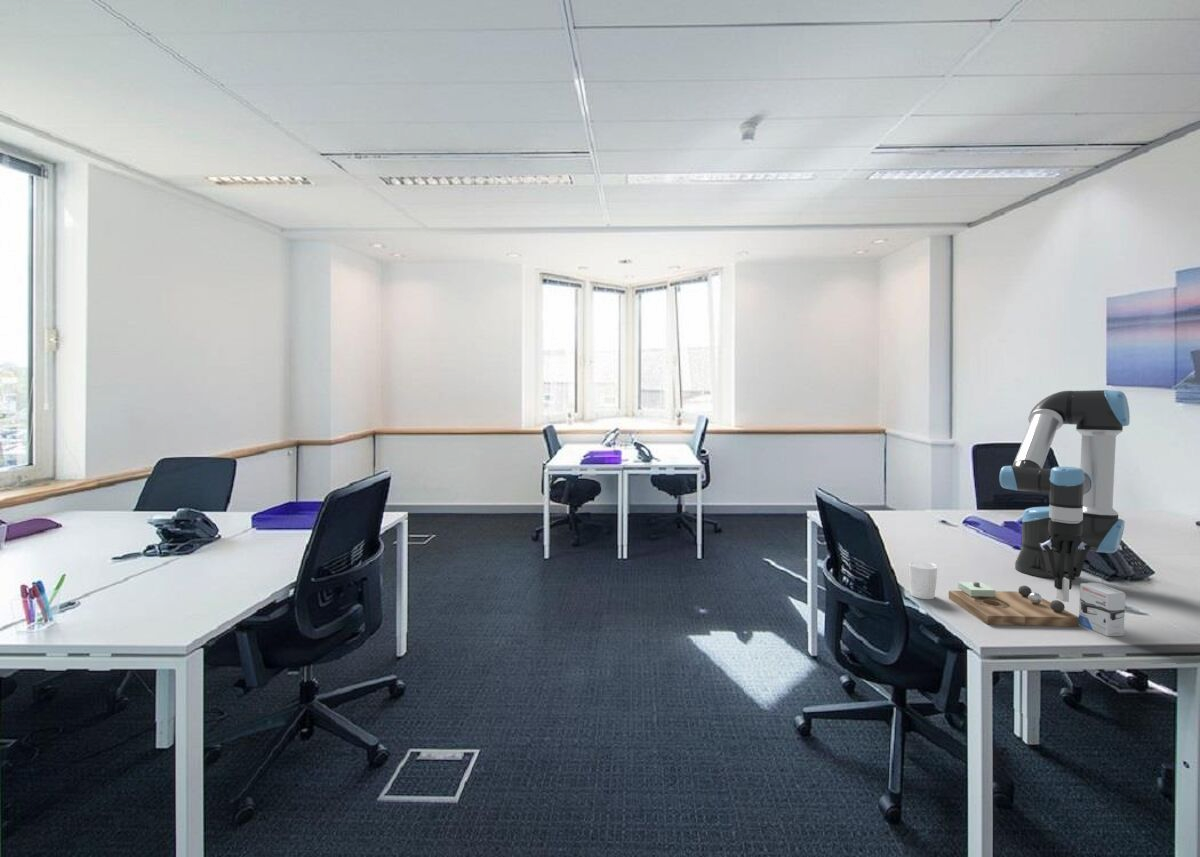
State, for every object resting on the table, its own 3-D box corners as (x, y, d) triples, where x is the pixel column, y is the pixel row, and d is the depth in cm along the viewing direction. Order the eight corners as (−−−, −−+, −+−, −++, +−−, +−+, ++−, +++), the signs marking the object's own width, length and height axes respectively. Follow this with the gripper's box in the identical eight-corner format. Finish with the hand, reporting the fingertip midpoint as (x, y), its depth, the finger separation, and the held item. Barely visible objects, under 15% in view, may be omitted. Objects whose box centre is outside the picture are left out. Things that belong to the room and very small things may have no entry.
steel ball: (1036, 601, 165) (1037, 591, 165) (1044, 605, 162) (1044, 594, 162) (1025, 601, 165) (1025, 590, 165) (1032, 605, 162) (1033, 594, 162)
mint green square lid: (981, 588, 176) (981, 579, 175) (995, 596, 169) (995, 586, 168) (958, 588, 176) (958, 579, 176) (970, 596, 169) (971, 586, 169)
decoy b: (1059, 609, 159) (1059, 598, 159) (1067, 613, 156) (1067, 602, 155) (1047, 609, 159) (1047, 598, 159) (1055, 613, 156) (1055, 602, 156)
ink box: (1077, 623, 155) (1078, 582, 154) (1093, 622, 155) (1095, 581, 155) (1107, 637, 147) (1109, 593, 146) (1124, 636, 147) (1126, 592, 146)
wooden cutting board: (1029, 599, 173) (1029, 591, 173) (1079, 626, 153) (1079, 617, 153) (948, 598, 175) (948, 590, 175) (987, 624, 155) (987, 615, 155)
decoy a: (1026, 594, 171) (1027, 584, 171) (1034, 598, 168) (1034, 587, 167) (1015, 594, 171) (1016, 584, 171) (1022, 598, 168) (1023, 587, 168)
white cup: (926, 602, 173) (927, 570, 172) (902, 594, 180) (903, 563, 179) (942, 597, 176) (942, 566, 176) (918, 589, 183) (918, 560, 183)
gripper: (1079, 517, 164) (1076, 595, 166) (1032, 517, 166) (1030, 594, 167) (1099, 523, 157) (1096, 605, 158) (1050, 523, 158) (1048, 604, 160)
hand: (1062, 599), depth 163 cm, fingers closed
